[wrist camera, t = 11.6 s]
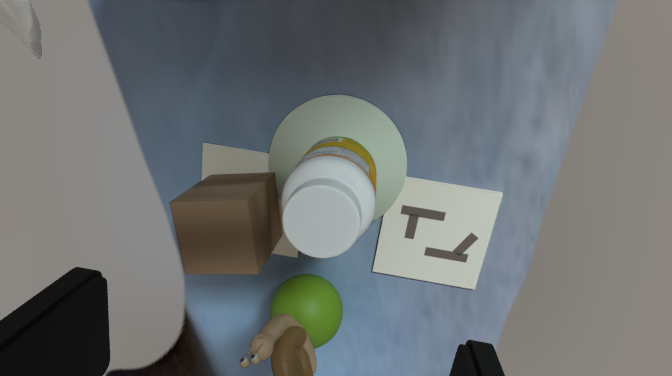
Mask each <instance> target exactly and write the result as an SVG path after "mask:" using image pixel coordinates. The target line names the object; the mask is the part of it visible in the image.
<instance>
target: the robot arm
mask: <svg viewBox="0 0 672 376" xmlns="http://www.w3.org/2000/svg"><path fill="white" fill-rule="evenodd" d="M109 362H110V343H109V318H108V293H107V280H106V279H105V278H103V277H102V274H101V272H99V271H96V270H91V269H85V268H80V267H76V268H74V269H72V270H70V271H69V272H68V273H66V274H65V275H63V276H62V277H61V278H59V279H58V280H56V281H55V282H54V283H52V284H51V285H49V286H48V287H47V288H45V289H44V290H42V291H41V292H40V293H38V294H37V295H36V296H34V297H33V298H31V299H30V300H29V301H27V302H26V303H24V304H23V305H22V306H20V307H19V308H17V309H16V310H14V311H13V312H12V313H10V314H9V315H8V316H6V317H5V318H3V319H2V320H1V321H0V376H102V375H104V373H105V372H106V370H107V368H108V365H109ZM449 376H505V375H504V372H503V370H502V367H501V365H500V362H499V360H498V357H497V354H496V352H495V349H494V347H493V345H492V344H489V343H484V342H478V341H473V340H468V341H467V342H466V345H462V344H460V345H459V346H458V349H457V352H456V355H455V359H454V362H453V365H452V369H451V372H450V375H449Z"/></svg>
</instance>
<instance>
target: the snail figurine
mask: <svg viewBox="0 0 672 376" xmlns="http://www.w3.org/2000/svg"><path fill="white" fill-rule="evenodd" d="M342 313H343V309H342V302H341V299H340V296H339V294H338V292H337V290H336V289H335V288H334V286H333V285H332V284H331V283H330V282H328V281H327V280H325V279H324V278H322V277H319V276H316V275H312V274H302V275H297V276H294V277H292V278H290V279H288V280H287V281H285V282H284V283H283V284H282V285H281V286H280V287H279V288H278V290H277V291H276V293H275V294H274V296H273V299H272V302H271V306H270V320H269V321H268V322H267V323H266V324H265V325H264V327H263V328H262V329H261V331H260V333H259V334H257V335H256V336H255V337H254V338H253V339H252V341H251V343H250V350H249V351H248V353H247V355H246V357H243V358H242V359H241V360H240V366H241V367H242V368H246V367H248V366H249V364H250V360H251V362H252V363H253V364H258V363H259V362H260V360H266V359H267V358H269V357H270V356H271V365H272V372H273V376H313V373H314V372H315V371H316V356H315V351H314V349H315V348H318V347H320V346H322V345H324V344H326V343H327V342H328V341H330V340H331V339H332V338H333V336H334V335H335V334H336V332H337V331H338V329H339V326H340V324H341V320H342ZM250 351H251V354H252V356H251V358H250V360H249V358H248V354H249V352H250Z"/></svg>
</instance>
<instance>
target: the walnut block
mask: <svg viewBox="0 0 672 376" xmlns="http://www.w3.org/2000/svg"><path fill="white" fill-rule="evenodd" d="M170 207H171V212H172V216H173V221H174V226H175V230H176V235H177V240H178V244H179V249H180V254H181V258H182V263H183V268H184V272H185V274H259V273H260V271H261V269H262V268H263V266H264V264H265V263H266V261H267V259H268V258H269V256H270V255H271V253H272V251H273V250H274V248H275V246H276V245H277V243H278V241H279V240H280V238H281V236H282V235H283V233H282V225H281V218H280V210H279V202H278V194H277V186H276V178H275V172H267V173H242V174H216V175H209V176H208V177H206V178H205V179H203V180H202V181H200V182H199V183H197V184H196V185H194V186H193V187H191V188H190V189H189V190H187V191H186V192H184V193H183V194H181V195H180V196H178V197H177V198H175V199H174V200H172V201H171V202H170Z"/></svg>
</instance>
